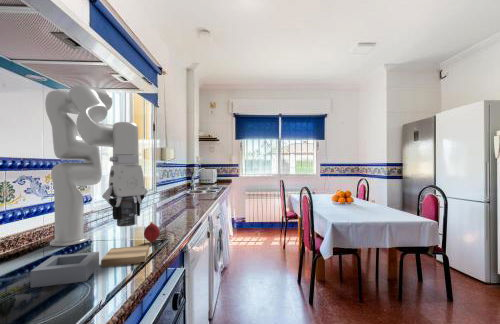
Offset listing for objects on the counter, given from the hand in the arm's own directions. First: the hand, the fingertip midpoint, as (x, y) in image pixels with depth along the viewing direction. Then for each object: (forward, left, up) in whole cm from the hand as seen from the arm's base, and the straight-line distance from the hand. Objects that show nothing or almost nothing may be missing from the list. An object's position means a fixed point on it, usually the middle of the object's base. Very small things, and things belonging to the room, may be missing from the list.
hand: (127, 217), depth 86 cm
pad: (0, 0, -13) cm, 13 cm away
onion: (-17, +6, -13) cm, 22 cm away
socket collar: (+10, -13, -13) cm, 21 cm away
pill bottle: (0, 0, -3) cm, 3 cm away
